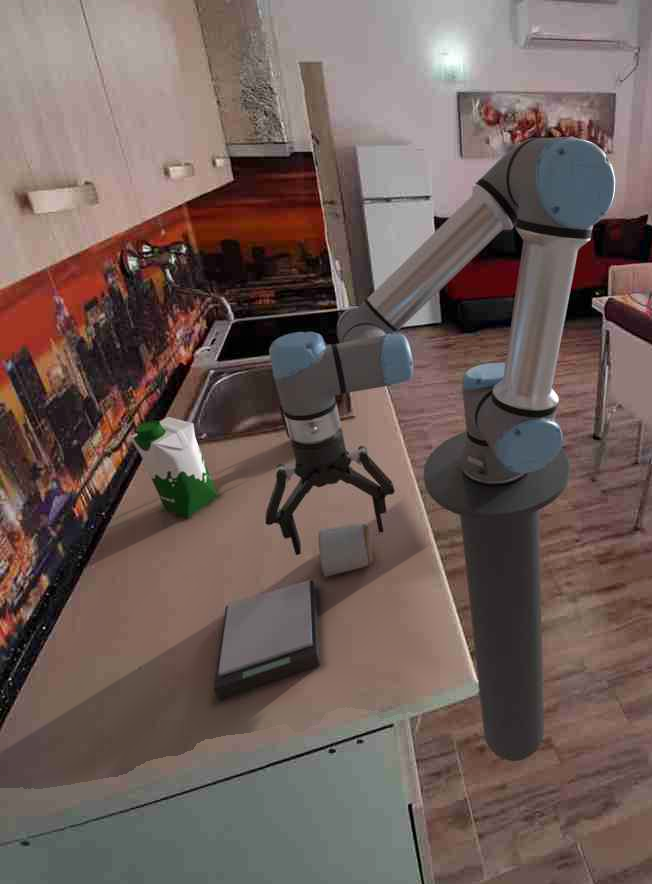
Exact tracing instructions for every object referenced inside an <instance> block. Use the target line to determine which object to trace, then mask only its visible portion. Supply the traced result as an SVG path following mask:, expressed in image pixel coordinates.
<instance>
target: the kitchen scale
mask: <svg viewBox="0 0 652 884" xmlns="http://www.w3.org/2000/svg"><path fill="white" fill-rule="evenodd" d="M318 616H319V614H318V596H317V588H316V585H315V581H314V579H311V580H310V579H307V580H305V581H301V582H297V583H294V584H290V585H287V586H284V587H282V588H277V589H274V590H271V591H267V592H263V593H261V594H256V595H254V596H250V597H247V598H243V599H241V600H237V601H234V602H230V603H227V605H225V610H224V617H223V624H222V630H221V637H220V644H219V645H220V646H219V651H218V652H219V653H218V659H217V665H216V666H217V668H216V671H215V672H216V674H215V679H214V680H215V681H214V687H213V689H214V691H215V693H216V696H217V697H218V700H219V701H220V700H224V699H227V698H230V697H232V696H236V695H238V694H241V693H244V692H247V691H249V690H252V689H257V688H258V687H261V686H264V685H268V684H270V683H273V682H276V681H279V680H281V679H282V680H283V679H285V678H287V677H290V676H293V675H296V674H299V673H302V672H305V671H308V670H311V669H314V668H317V667H319V666H321V652H320V636H319V635H320V634H319V617H318Z"/></svg>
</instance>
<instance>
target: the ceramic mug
mask: <svg viewBox="0 0 652 884" xmlns="http://www.w3.org/2000/svg"><path fill="white" fill-rule="evenodd" d="M318 552H319V560H320V566H321V570H322V574H323V577H330V576H334V575H338V574H342V573H347V572H350V571H353V570H357V569H362V568H364V567H367V566H369V565H371V564H372V562H373V552H372V544H371V536H370V530H369V526H368V525H367V524H366V523H354V524H349V525H344V526H337V527H331V528H324V529H320V530H319V533H318Z"/></svg>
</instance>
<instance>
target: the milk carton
mask: <svg viewBox="0 0 652 884" xmlns="http://www.w3.org/2000/svg"><path fill="white" fill-rule="evenodd" d="M134 430H135V432H136V433H134V434H132V435H130V436H129V438H130V440H131V442H132V443H133V445H134V446H135V449H136V450H137V451H138V453H139V455H140V456H141V458H142V461H143V462H144V465H145V467H146V469H147V471H148V474H149V476H150V478H151V480H152V483H153V486H154V488H155V489H156V492H157V494H158V497H159V499H160V501H161V504H162V506H163V508H164V510H165V511H168V512H171V513H174V514H177V515H179V516H182V517H184V518H190V517H191V516H192V515H194V514H195V513H197V512H198V511H200V510H201V509H202V508H204V507H205V506H206V505H208V504H209V503H210V502H212V501H213V500H215V499H216V498H217V497H218V496H219V495H218V493H217V490H216V488H215V486H214V483H213V480H212V477H211V476H210V473H209V470H208V467H207V465H206V462H205V459H204V457H203V454H202V452H201V449H200V446H199V444H198V441H197V438H196V433H195V426H194V423H193V422H190V421H185V420H182V419H177V418H174V417H169V416H167V417H166V418H163V419H161V420H149V421H145V422H143V423H141V424H138V425H137V427H135V429H134Z"/></svg>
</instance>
